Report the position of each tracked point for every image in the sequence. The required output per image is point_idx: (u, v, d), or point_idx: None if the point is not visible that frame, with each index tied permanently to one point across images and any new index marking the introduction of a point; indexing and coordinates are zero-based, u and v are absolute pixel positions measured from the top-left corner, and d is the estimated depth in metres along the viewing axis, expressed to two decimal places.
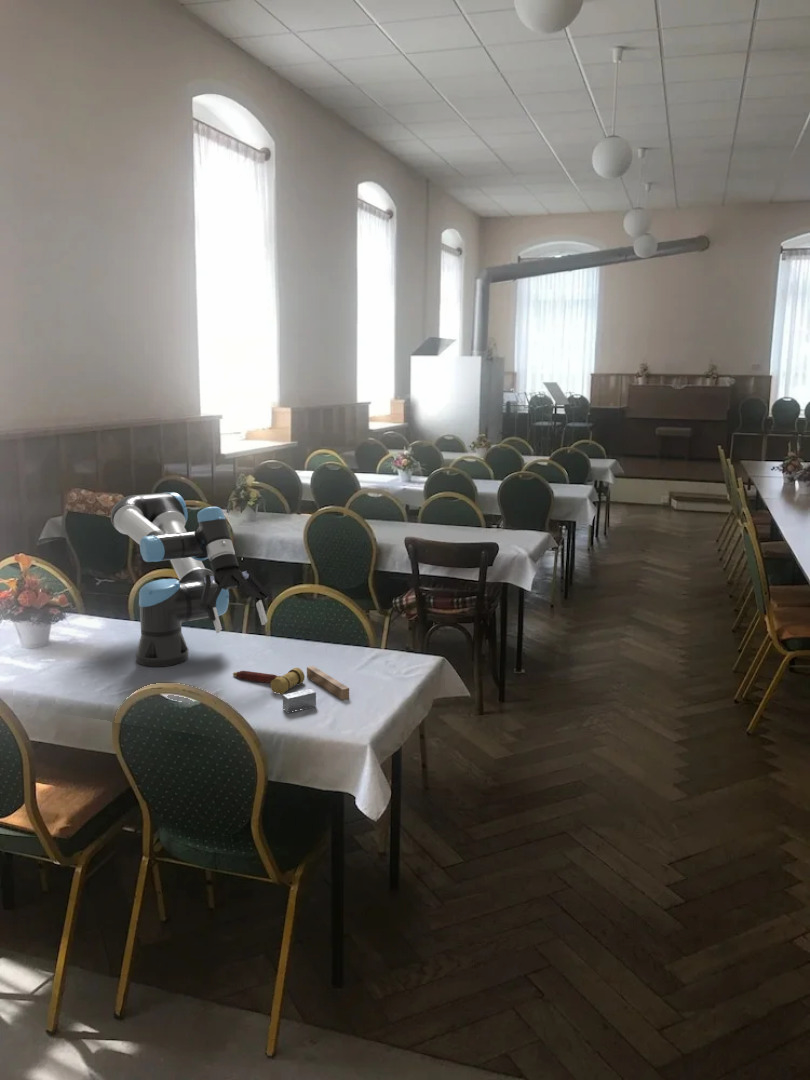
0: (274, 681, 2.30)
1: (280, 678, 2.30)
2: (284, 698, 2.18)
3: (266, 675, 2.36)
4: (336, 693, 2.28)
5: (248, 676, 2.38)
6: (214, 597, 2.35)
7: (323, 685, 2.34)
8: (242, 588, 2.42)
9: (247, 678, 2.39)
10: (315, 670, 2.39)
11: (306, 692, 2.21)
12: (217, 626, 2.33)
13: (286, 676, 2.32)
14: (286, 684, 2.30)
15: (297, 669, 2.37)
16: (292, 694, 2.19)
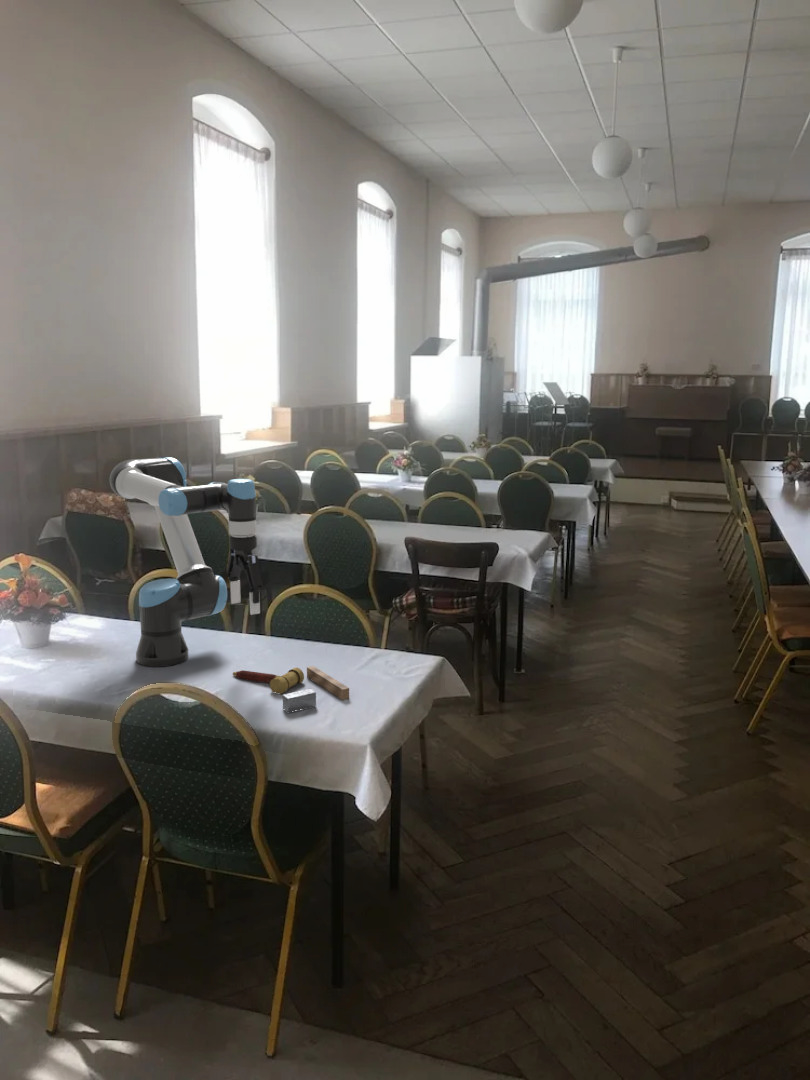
0: (273, 681, 2.30)
1: (279, 678, 2.30)
2: (284, 698, 2.18)
3: (266, 675, 2.36)
4: (336, 693, 2.28)
5: (247, 675, 2.38)
6: None
7: (323, 685, 2.34)
8: (238, 566, 2.43)
9: (247, 678, 2.39)
10: (315, 670, 2.39)
11: (306, 692, 2.21)
12: (257, 609, 2.37)
13: (285, 676, 2.32)
14: (286, 683, 2.30)
15: (296, 669, 2.37)
16: (292, 694, 2.19)
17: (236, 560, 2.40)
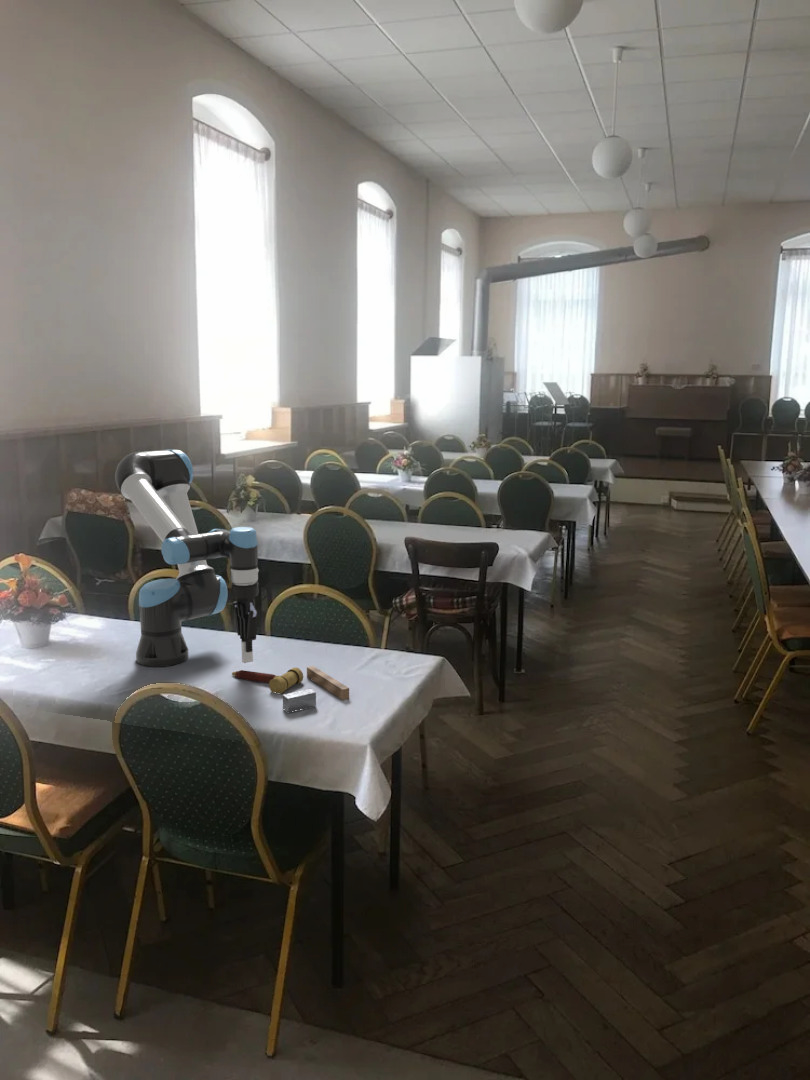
0: (273, 681, 2.30)
1: (279, 678, 2.30)
2: (284, 698, 2.18)
3: (265, 675, 2.36)
4: (336, 693, 2.28)
5: (247, 675, 2.39)
6: None
7: (323, 685, 2.34)
8: None
9: (246, 678, 2.39)
10: (315, 670, 2.39)
11: (306, 692, 2.21)
12: (250, 657, 2.45)
13: (285, 676, 2.32)
14: (285, 683, 2.30)
15: (296, 669, 2.37)
16: (292, 694, 2.19)
17: (239, 607, 2.42)
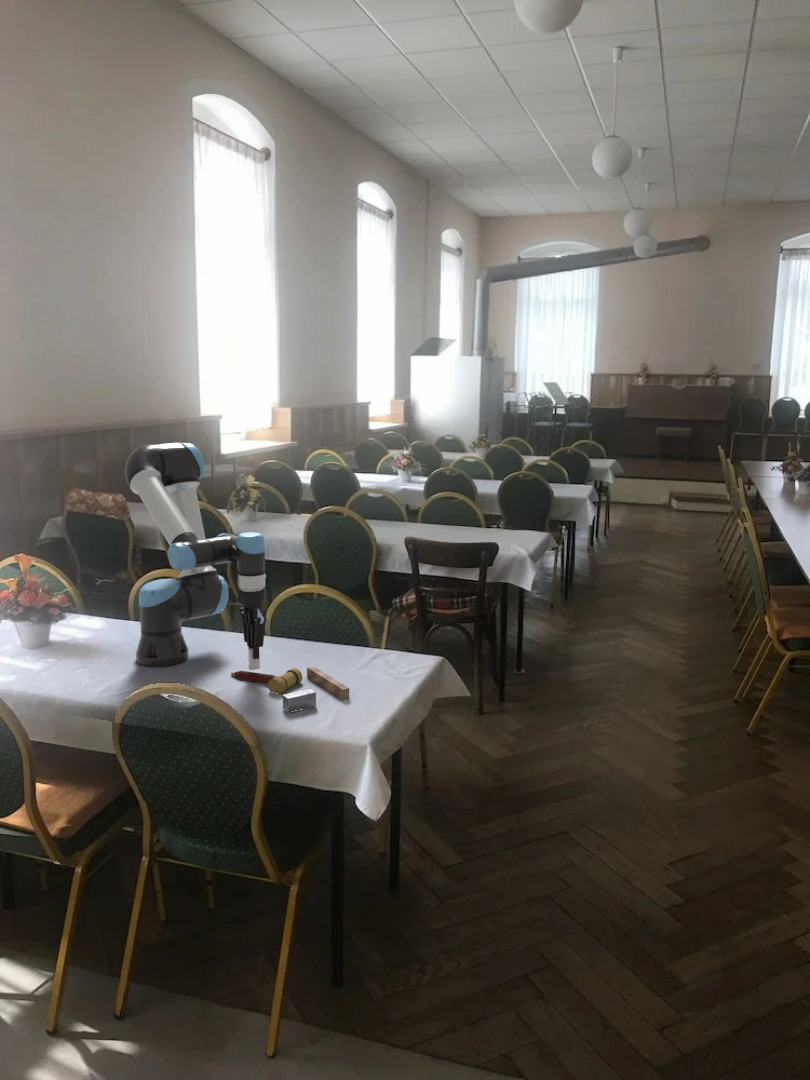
0: (272, 681, 2.30)
1: (278, 678, 2.30)
2: (284, 698, 2.18)
3: (264, 675, 2.36)
4: (336, 693, 2.28)
5: (246, 676, 2.38)
6: None
7: (323, 685, 2.34)
8: None
9: (245, 678, 2.39)
10: (315, 670, 2.39)
11: (306, 692, 2.21)
12: (257, 664, 2.42)
13: (284, 676, 2.32)
14: (284, 684, 2.30)
15: (295, 669, 2.37)
16: (292, 694, 2.19)
17: (246, 613, 2.39)
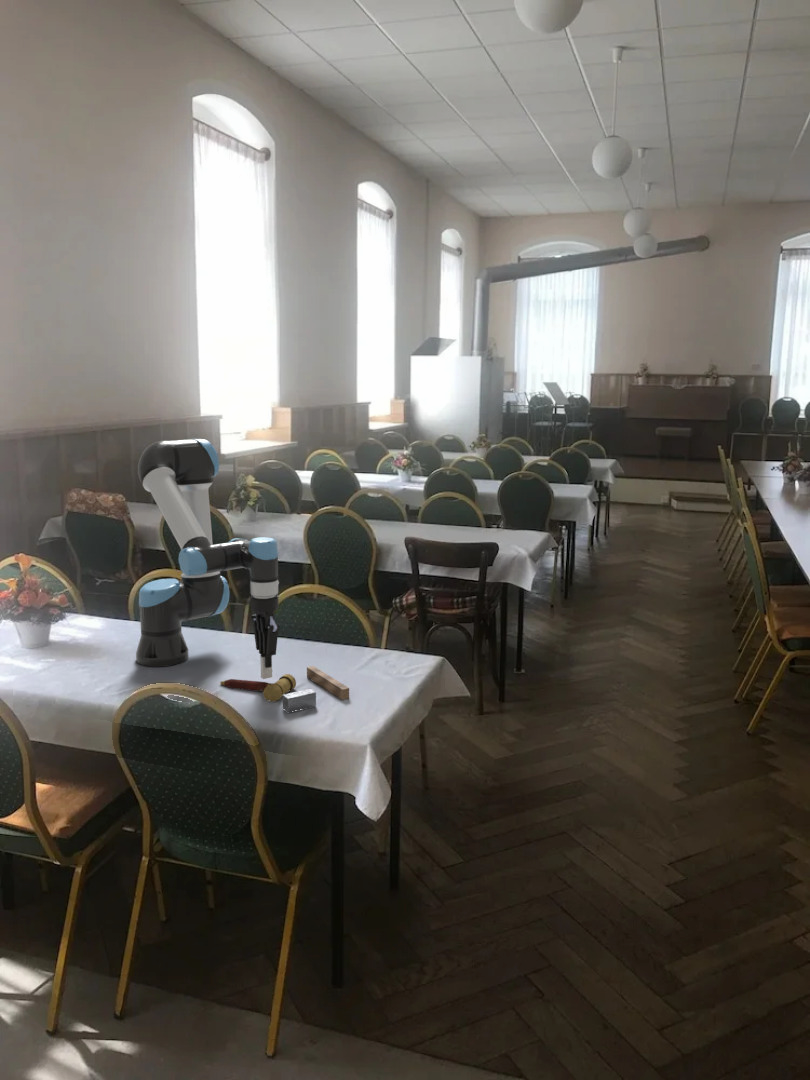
0: (267, 689, 2.24)
1: (273, 685, 2.25)
2: (284, 698, 2.18)
3: (257, 683, 2.31)
4: (336, 693, 2.28)
5: (237, 684, 2.32)
6: None
7: (323, 685, 2.34)
8: None
9: (236, 686, 2.33)
10: (315, 670, 2.39)
11: (306, 692, 2.21)
12: (269, 673, 2.35)
13: (279, 683, 2.27)
14: (280, 691, 2.25)
15: (288, 675, 2.32)
16: (292, 694, 2.19)
17: (258, 621, 2.32)
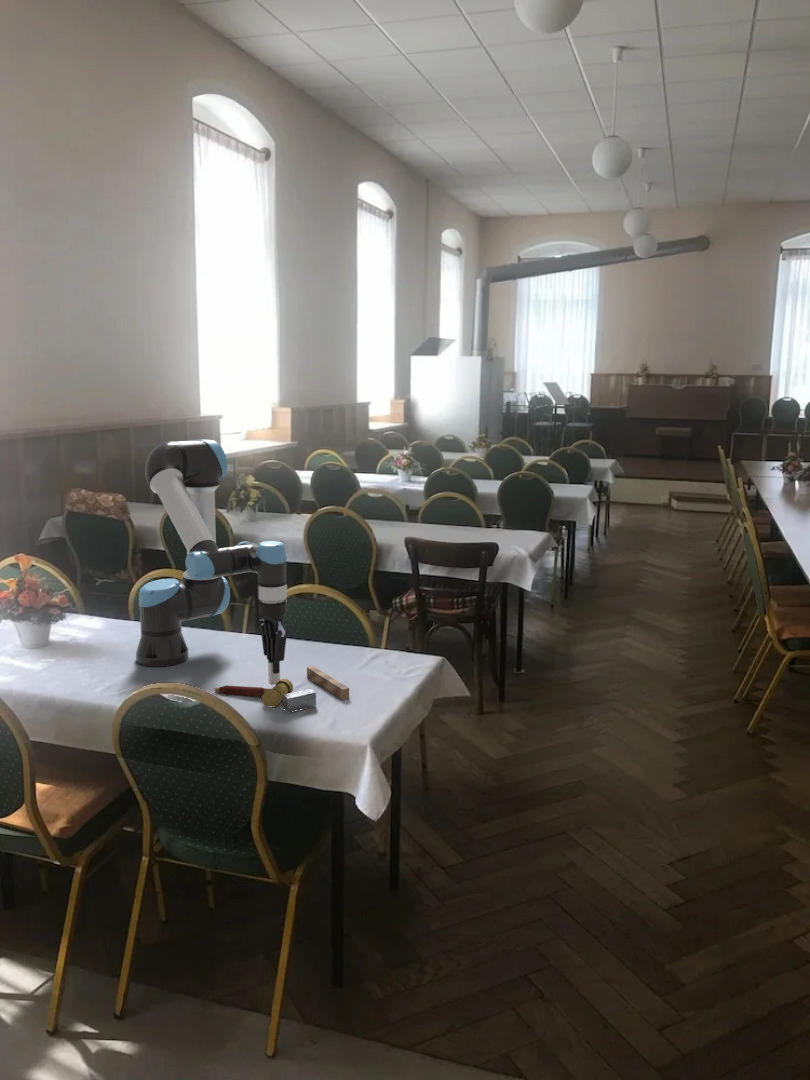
0: (266, 694, 2.21)
1: (272, 691, 2.21)
2: (284, 698, 2.18)
3: (253, 688, 2.26)
4: (336, 693, 2.28)
5: (233, 690, 2.28)
6: None
7: (323, 685, 2.34)
8: None
9: (232, 693, 2.28)
10: (315, 670, 2.39)
11: (306, 692, 2.21)
12: (277, 679, 2.31)
13: (277, 688, 2.24)
14: (279, 696, 2.21)
15: (285, 680, 2.28)
16: (292, 694, 2.19)
17: (266, 626, 2.28)
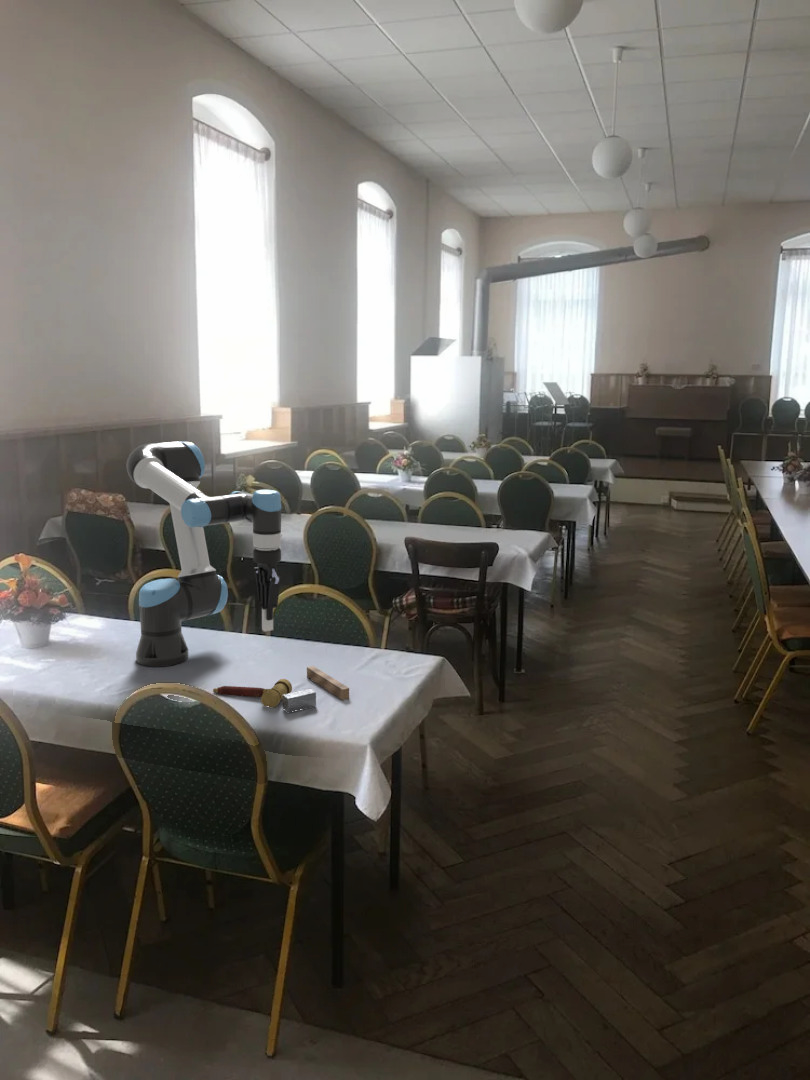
0: (265, 694, 2.20)
1: (271, 691, 2.21)
2: (284, 698, 2.18)
3: (252, 689, 2.26)
4: (336, 693, 2.28)
5: (231, 691, 2.27)
6: None
7: (323, 685, 2.34)
8: None
9: (230, 693, 2.28)
10: (315, 670, 2.39)
11: (306, 692, 2.21)
12: (270, 626, 2.36)
13: (276, 688, 2.23)
14: (278, 696, 2.21)
15: (284, 680, 2.28)
16: (292, 694, 2.19)
17: (260, 573, 2.33)
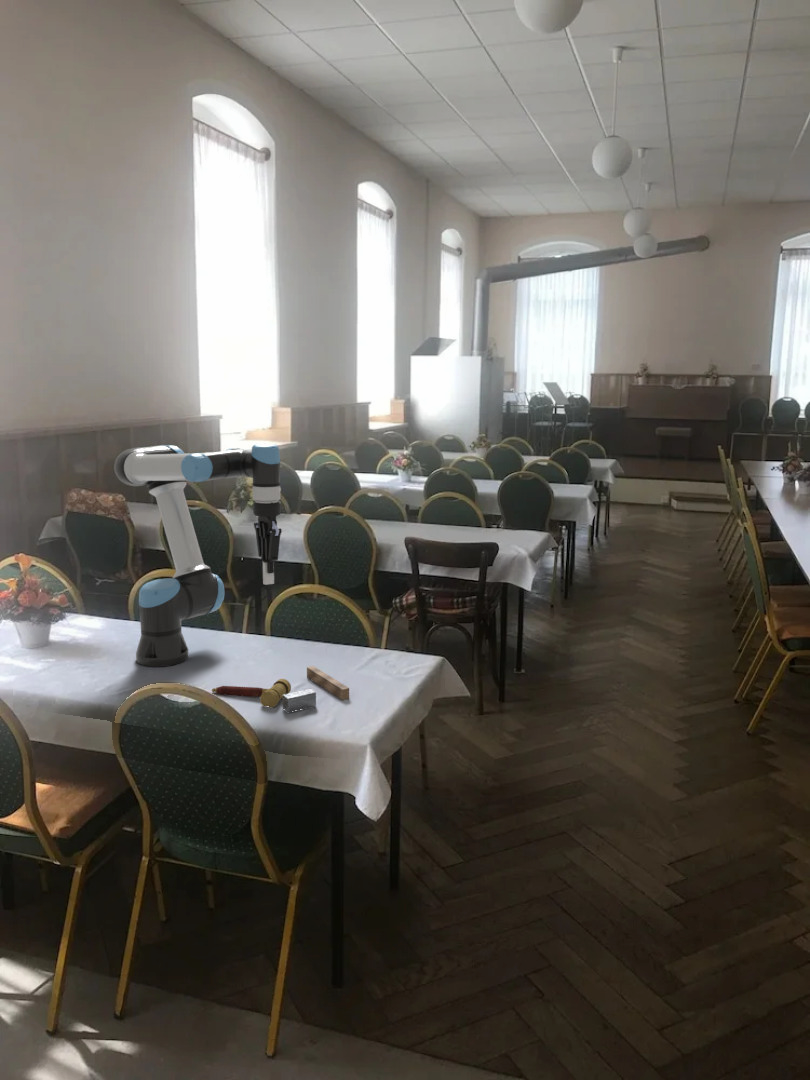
0: (264, 694, 2.20)
1: (270, 691, 2.21)
2: (284, 698, 2.18)
3: (251, 689, 2.26)
4: (336, 693, 2.28)
5: (230, 691, 2.27)
6: None
7: (323, 685, 2.34)
8: None
9: (229, 693, 2.28)
10: (315, 670, 2.39)
11: (306, 692, 2.21)
12: (271, 579, 2.39)
13: (275, 688, 2.23)
14: (277, 696, 2.21)
15: (283, 680, 2.28)
16: (292, 694, 2.19)
17: (261, 527, 2.36)
